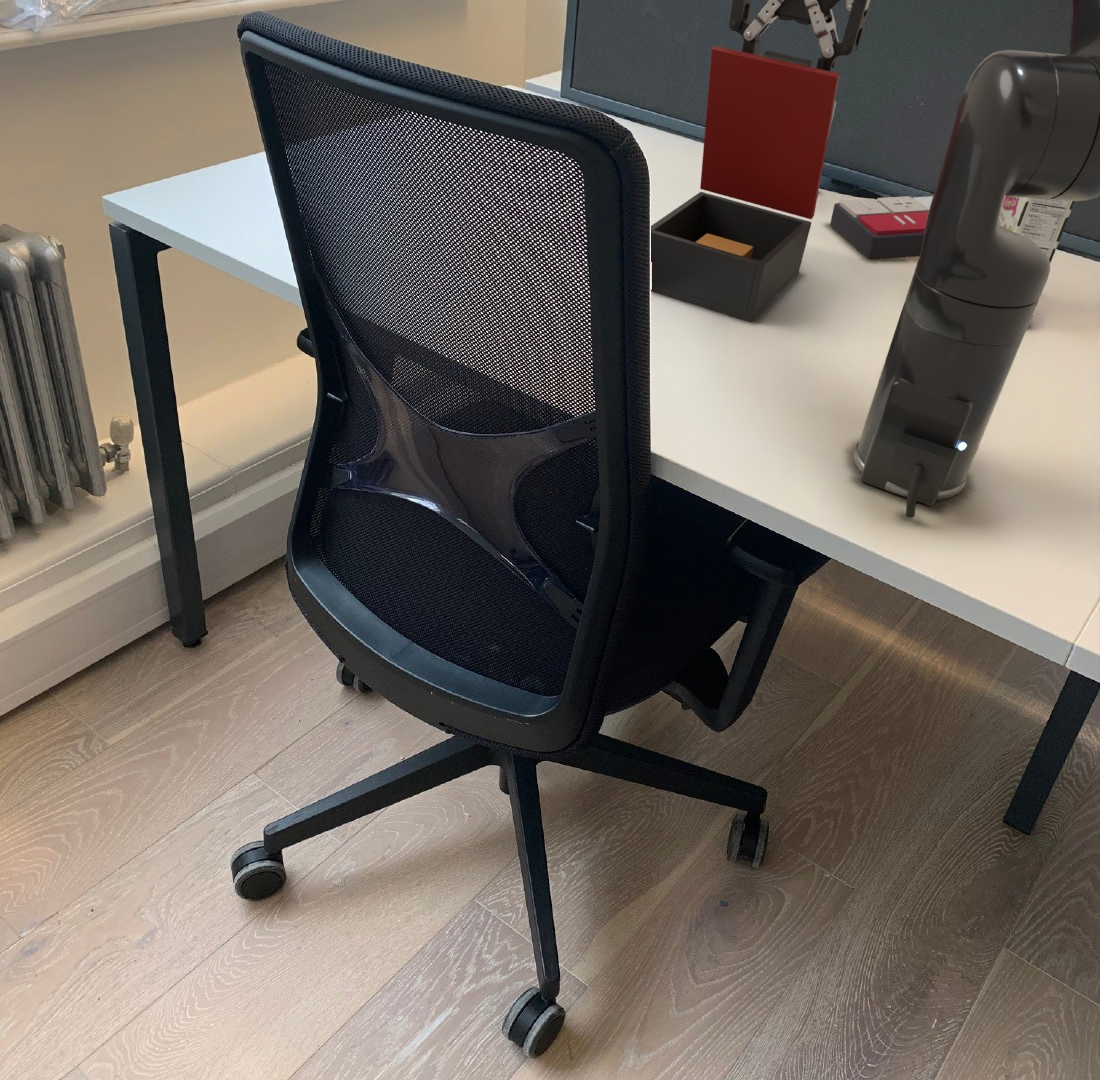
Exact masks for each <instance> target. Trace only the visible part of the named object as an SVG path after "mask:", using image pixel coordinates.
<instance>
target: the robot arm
mask: <svg viewBox="0 0 1100 1080" xmlns="http://www.w3.org/2000/svg"><path fill="white" fill-rule="evenodd" d="M839 2H840V0H768V1H767V2H766V3H765V5H764V6H763V7H762V8H761V10H759V12H758V13H757V14H756V15H755V18H754V20H752V21H751V20H750V13H751V8H752V7H751V6H752V0H732V4H731V11H730V16H729V22H728V26H729V29H730V30H731V31H733V32H737V33H738V34H739V35H741V37H742V39H743V43H742V47H741V48H742V50H741V52H745V53H749V54H754V55H758V56H760V53H761V48H762V42H763V39H761V36H762V35H763V34H764V33H765V32H766V30H767V29H768V28H769V27H770V25H772V23H773V22H774V21H775V20H776V19H778V20H781V21H785V22H786V21H795V22H796V23H799V24H800V25H805V26H809V25H812V29H813V33H814V35H815V37H816V38H817V40H818V45H819V48H820V51H821V56H819V57H818V59H817V63H816V67H815V68H817V69H821V70H825V71H830V72H834V70H835V65H836V62H837V59H838V57H841V56H850V55H851V54H852V53H854V52H856V51H857V50H859V47H860V44H861V39H862V37H863V33H864V29H865V25H866V23H867V18H868V15H869V12H870V7H871V5H872V0H845V8H846V10H847V11H848V12H849V16H848V20H847V23H846V27H845V31H844V34H843V38H842V40H841V41H840V40H839V36H838V32H837V24H836V20H835V16H834V13H833V8H834V7H835V6H836V5H837V4H838V3H839ZM963 89H964V90H963V92H962V93H961V96H960V99H959V102H958V105H957V108H956V111H955V114H954V118H953V121H952V124H951V128H950V132H949V135H948V140H947V143H946V147H945V151H944V156H943V159H942V163H941V167H940V170H939V174H938V178H937V180H936V181H937V182H936V186H935V189H934V193H933V195H932V196H933V199H932V202H931V205H930V209H929V212H928V216H927V221H926V226H925V232H924V238H923V244H922V249H921V253H920V256H919V257H918V259H917V262H916V265H915V269H914V272H913V275H912V278H911V281H910V284H909V287H908V290H907V293H906V296H905V300H904V303H903V306H902V309H901V310H900V311H901V312H900V315H899V317H898V320H897V324H896V327H895V329H894V333H893V336H892V339H891V342H890V345H889V348H888V351H887V354H886V357H885V361H884V363H883V366H882V370H881V373H880V376H879V378H878V382H877V385H876V388H875V391H874V394H873V397H872V401H871V403H870V406H869V410H868V412H867V416H866V419H865V423H864V426H863V428H862V431H861V434H860V437H859V440H858V442H857V443H856V446H855V449H854V452H853V461H854V464H855V467H857V469H858V471H859V472H860V473H861V474H860V477H859V480H860V481H861V482H862V483H865V484H868V485H871V486H874V487H876V488H879V489H882V490H885V491H888V492H889V493H893V494H896V495H898V496H901V497H905V498H907V499H906V506H905V516H906V517H907V518H910V519H911V518H914V517H915V514H916V507H917V502H918V503H921V504H924V505H927V506H930V507H932V506H934V504H935V502H936V501H937V500H938V501H939V500H945V499H949V498H952V497H954V496H956V495H958V494H959V493H960V492H962V491H963V489H964V487H965V485H966V482H967V480H968V476H969V471H970V469H971V466H972V465H973V462H974V459H975V457H976V456H977V452H978V450H979V447H980V445H981V442H982V441H983V437H984V435H985V432H986V430H987V427H988V425H989V423H990V420H991V417H992V415H993V412H994V411H995V408H996V405H997V403H998V400H999V398H1000V396H1001V394H1002V391H1003V389H1004V386H1005V384H1006V381H1007V378H1008V376H1009V373H1010V372H1011V371H1010V370H1011V368H1012V366H1013V365H1014V361H1015V359H1016V356H1017V355H1018V352H1019V349H1020V347H1021V344H1022V342H1023V339H1024V337H1025V335H1026V332H1027V331H1028V328H1029V326H1030V323H1031V321H1032V318H1033V316H1034V314H1035V311H1036V309H1037V306H1038V303H1039V302H1040V299H1041V296H1042V294H1043V291H1044V289H1045V287H1046V284H1047V282H1048V279H1049V275H1050V272H1051V263H1050V261H1049V258H1048V256H1047V255H1046V254H1045V253H1044V251H1043V250H1042V249H1041V248H1040V247H1038V246H1037V245H1036V244H1035V243H1033V242H1032V241H1030V240H1028V239H1027V238H1025V237H1023V236H1021V235H1019V234H1017V233H1015V232H1013V231H1011V230H1009V229H1007V228H1005V227H1003V226H1001V225H1000V224H998V220H999V216H1000V211H1001V207H1002V203H1003V200H1004V196H1014V197H1026V198H1038V199H1054V200H1068V201H1075V202H1085V201H1089V200H1093V199H1096V198H1098V197H1099V196H1100V0H1070V31H1069V43H1068V52H1067V54H1062V53H1061V54H1060V53H1050V52H1039V51H1027V50H1018V49H1017V50H1015V49H1007V50H1006V49H1005V50H998V51H995V52H992V53H991V54H989V55H988V56H986V57H985V58H984V59H983V60H982V61H981V62H980V63H979V64H978V65H977V67H976V68H975V69H974V71H973V72H972V74H971V75H970V77H969V80H968V81H967V84H965V87H964V88H963Z"/></svg>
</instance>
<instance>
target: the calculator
mask: <svg viewBox="0 0 1100 1080" xmlns="http://www.w3.org/2000/svg"><path fill="white" fill-rule="evenodd" d="M932 199H933V195H932V196H931V195H930V196H914V197H911V196H908V195H905V196H892V197H890V196H888V197H877V199H875V198H856V199H855V198H853V199H841V200H840V201H839V202H836V203H834V204H833V209H832V213H831V219H830V224H829V227H831V228H832V229H833V230H834V231H835V233H837V234H839V235H840V237H842V238H843V239H844V240H845V241H846V242H848V243H849V244H850V245H851V246H852V247H853V248H855V249H856V251H858V252H859V253H860V254H861V255H862V256H863V257H865V259H867V260H869V261H874V260H875V261H876V260H877V261H879V260H890V259H891V260H892V259H905V258H919V256H920V253H921V249H922V244H923V238H924V232H925V226H926V221H927V216H928V212H929V209H930V205H931V202H932Z"/></svg>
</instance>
